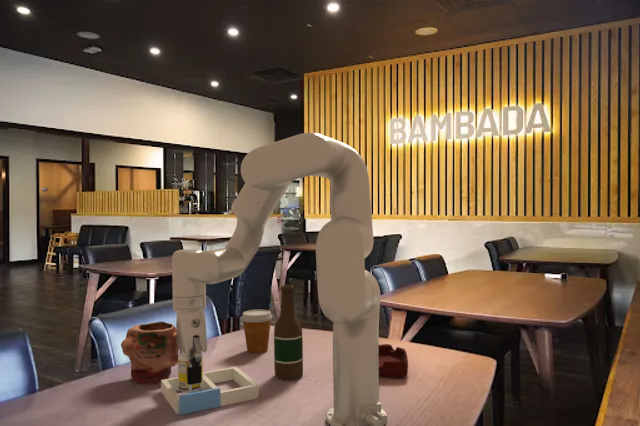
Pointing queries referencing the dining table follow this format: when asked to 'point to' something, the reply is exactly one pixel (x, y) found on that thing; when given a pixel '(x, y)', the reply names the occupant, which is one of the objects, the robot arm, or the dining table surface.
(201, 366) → the robot arm
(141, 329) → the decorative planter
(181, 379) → the supplement bottle
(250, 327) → the disposable coffee cup
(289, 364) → the beer bottle
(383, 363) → the ashtray
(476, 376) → the dining table surface
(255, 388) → the white divided tray
